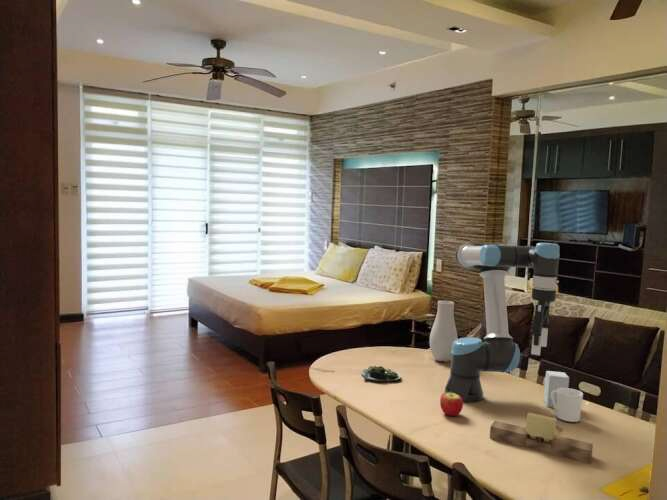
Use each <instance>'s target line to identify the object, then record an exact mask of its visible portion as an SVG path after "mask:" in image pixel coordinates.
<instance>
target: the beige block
mask: <svg viewBox="0 0 667 500" xmlns="http://www.w3.org/2000/svg"><path fill="white" fill-rule="evenodd" d="M557 420H558V419H557V417H556V418H555V417H551V416H547V415H543V414H538V413H535V412H534V413H533V412H528V413H527V414H526V425H525V428H526V434H530V439H532V440H536V436H538V437H542V438H544V442H545V443H549V444H550V440H554V438H555V435H556V429H557Z"/></svg>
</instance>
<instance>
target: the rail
mask: <svg viewBox="0 0 667 500" xmlns="http://www.w3.org/2000/svg"><path fill="white" fill-rule="evenodd" d="M489 429H490V431H489V439H492V440H496V441H499V442H504V443H507V444H513V445H515V446H518V447H523V448H527V449H531V450H535V451H539V452H543V453H546V454H547V453H548V454H550V455H554V456H559V457H562V458H565V459H566V458H567V459H569V460H574V461H577V462H582V463H586V464H589V465H591V463H592V458H593V457H592V456H593V448H594V447H593V446H594V444H593V443H590V442H586V441H582V440H578V439H573V438H570V437H565V436H562V435H557V434H555V438H554V440H550V444H549V443H545V442H544V438H542V437H538V436H536V440H532V439H530V434H526V427H524V426H519V425H515V424H511V423H507V422H503V421H498V420H493V422H492V424H491V425H490V428H489Z"/></svg>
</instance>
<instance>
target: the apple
mask: <svg viewBox="0 0 667 500" xmlns="http://www.w3.org/2000/svg"><path fill="white" fill-rule="evenodd" d="M448 388H449V387H448ZM449 389H450V388H449ZM450 391H451V390H450ZM439 399H440V400H439V402H440V403H439V405H440V408H441V411H442V413H443V414H445V415H446V416H450V417H455V416H458V415H459V414H461V412H462V410H463V406H464V402H463V400H462V398H461V397H460V396H459V395H457V394H455V393H445V392H444V393H442V394H441V396H440V398H439Z"/></svg>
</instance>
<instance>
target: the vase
mask: <svg viewBox="0 0 667 500" xmlns="http://www.w3.org/2000/svg"><path fill="white" fill-rule="evenodd" d="M454 307H455V302H453V301H450V300H438V301H437V313H436V316H435V319H434V322H433V324H432V327H431V331H430V334H429V348H430V353H431V354H432V357H433V358H434V359H435V360H436V361H438V362H441V361H444V362H443V363H446V362H445V361H447V362H450V361H451V356H452V353H451V351H452V345H453V342H454V341H455V340H457V339H459V338H458V331H457V327H456V321H455V317H454V316H455V315H454V309H455V308H454Z"/></svg>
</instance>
